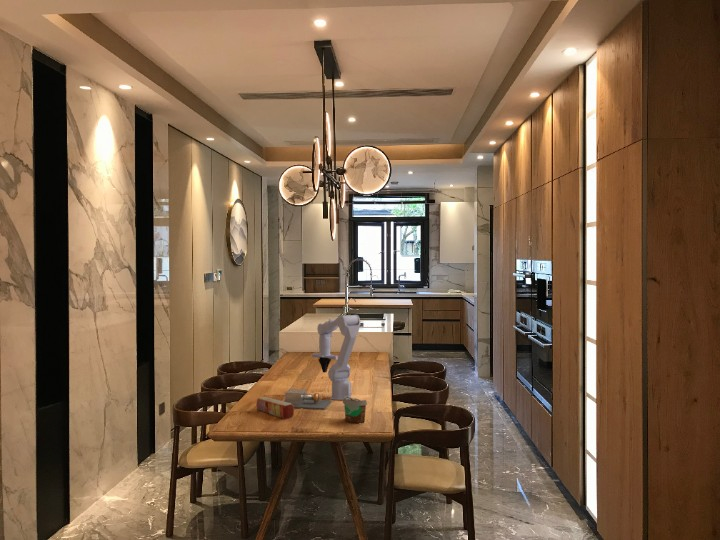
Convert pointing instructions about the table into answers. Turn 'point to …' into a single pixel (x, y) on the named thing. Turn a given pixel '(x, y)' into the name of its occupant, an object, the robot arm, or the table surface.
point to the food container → (354, 410)
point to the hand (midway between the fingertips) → (324, 372)
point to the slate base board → (314, 404)
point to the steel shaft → (312, 397)
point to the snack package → (275, 407)
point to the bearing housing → (295, 396)
